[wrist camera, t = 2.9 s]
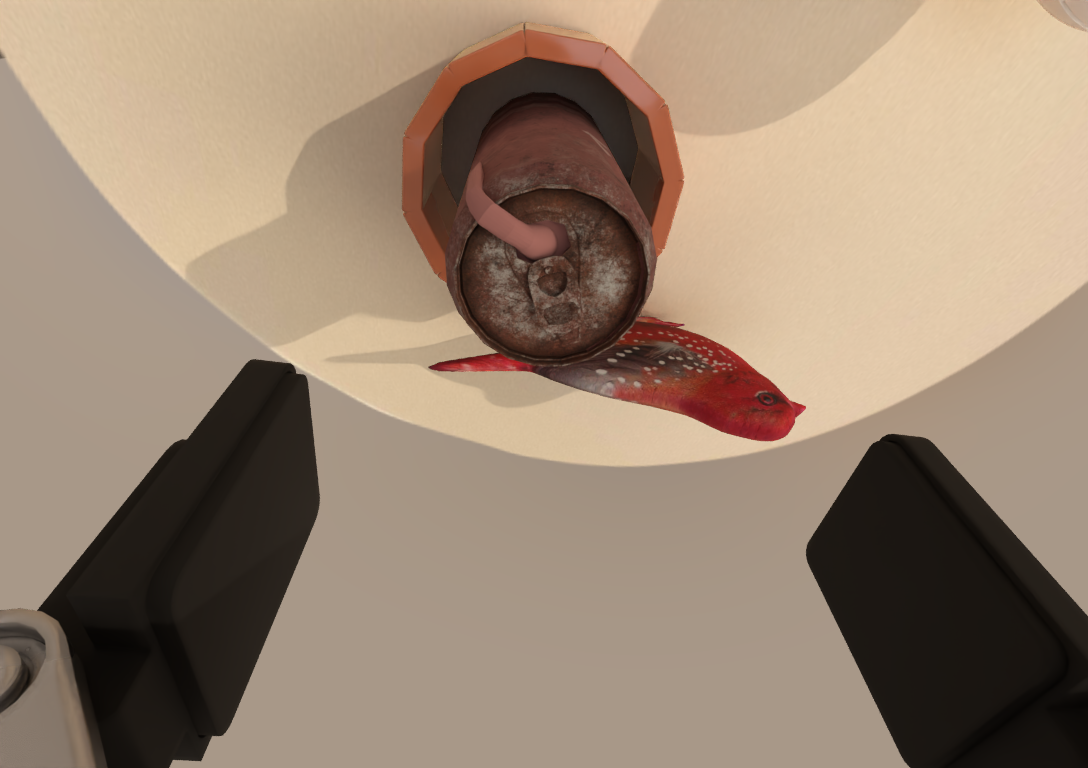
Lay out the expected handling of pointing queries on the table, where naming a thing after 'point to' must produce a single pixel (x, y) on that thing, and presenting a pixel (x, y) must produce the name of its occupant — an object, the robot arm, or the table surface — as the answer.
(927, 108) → the table surface
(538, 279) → the can
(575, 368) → the decorative bird figurine
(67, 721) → the robot arm
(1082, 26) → the spinning top
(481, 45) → the pot
